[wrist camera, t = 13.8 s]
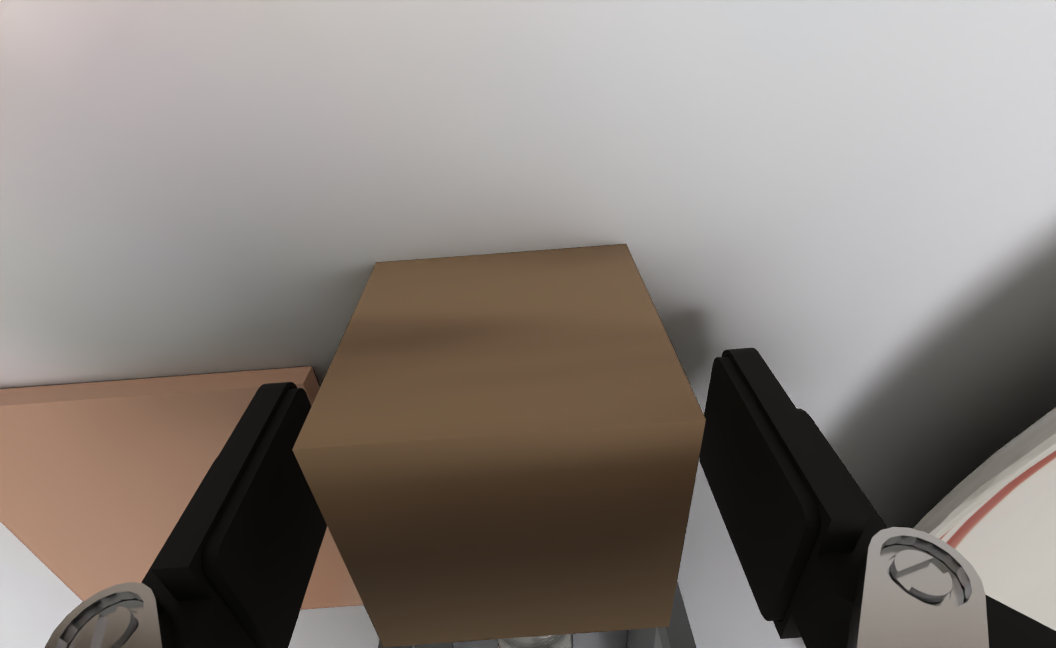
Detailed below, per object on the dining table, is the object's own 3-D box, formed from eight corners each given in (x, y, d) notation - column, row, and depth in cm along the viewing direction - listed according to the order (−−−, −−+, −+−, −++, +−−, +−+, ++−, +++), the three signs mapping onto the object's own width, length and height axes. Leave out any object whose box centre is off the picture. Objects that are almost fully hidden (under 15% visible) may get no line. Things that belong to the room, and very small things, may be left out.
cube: (617, 422, 13) (668, 626, 9) (421, 436, 13) (383, 647, 9) (625, 242, 10) (705, 419, 6) (377, 260, 10) (291, 449, 6)
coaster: (394, 584, 17) (391, 603, 16) (117, 604, 17) (105, 623, 16) (311, 366, 12) (303, 383, 11) (-85, 395, 12) (-111, 414, 11)
